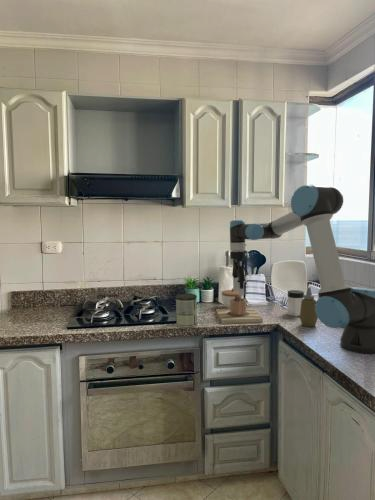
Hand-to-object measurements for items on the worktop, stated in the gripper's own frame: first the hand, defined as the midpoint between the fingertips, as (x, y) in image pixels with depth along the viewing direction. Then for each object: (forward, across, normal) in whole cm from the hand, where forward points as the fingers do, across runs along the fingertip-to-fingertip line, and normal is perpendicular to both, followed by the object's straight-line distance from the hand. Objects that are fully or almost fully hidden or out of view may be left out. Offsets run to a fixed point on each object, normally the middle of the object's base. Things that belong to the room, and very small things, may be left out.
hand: (238, 292), depth 183 cm
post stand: (+13, 0, 0) cm, 13 cm away
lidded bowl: (+13, +22, -1) cm, 25 cm away
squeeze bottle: (+14, -16, -30) cm, 37 cm away
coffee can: (+13, -8, +27) cm, 31 cm away
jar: (+13, +4, -31) cm, 34 cm away
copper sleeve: (+11, 0, 0) cm, 11 cm away
